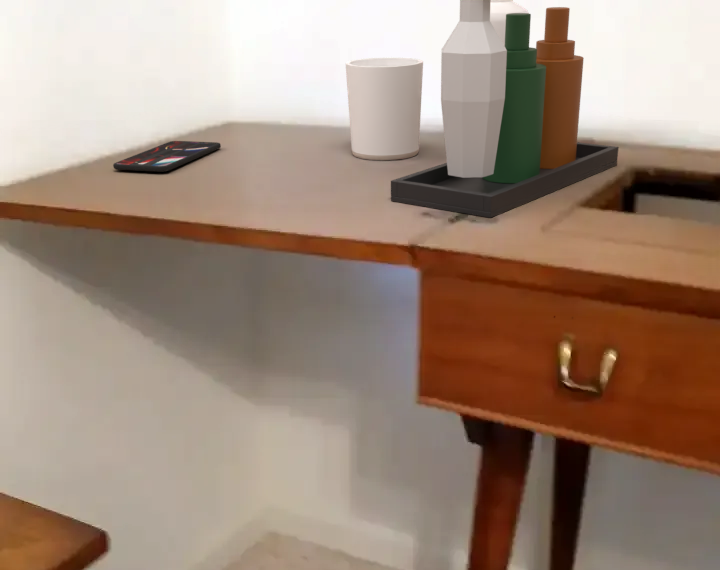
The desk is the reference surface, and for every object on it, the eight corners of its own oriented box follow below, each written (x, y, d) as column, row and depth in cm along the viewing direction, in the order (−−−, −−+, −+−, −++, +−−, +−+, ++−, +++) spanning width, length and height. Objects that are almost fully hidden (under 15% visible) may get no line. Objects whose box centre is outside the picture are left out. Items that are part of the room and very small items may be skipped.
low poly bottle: (510, 167, 97) (522, -82, 87) (492, 181, 92) (502, -82, 82) (450, 163, 100) (454, -80, 89) (429, 177, 94) (431, -80, 84)
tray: (616, 165, 109) (618, 146, 108) (490, 218, 90) (491, 196, 89) (525, 153, 115) (526, 136, 114) (390, 200, 97) (390, 180, 96)
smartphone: (222, 142, 122) (165, 167, 109) (223, 147, 122) (166, 173, 109) (171, 140, 124) (109, 164, 111) (172, 145, 124) (110, 170, 111)
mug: (436, 155, 115) (438, 62, 111) (371, 164, 112) (369, 69, 107) (389, 140, 124) (388, 54, 119) (327, 148, 120) (324, 60, 115)
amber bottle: (584, 161, 108) (597, 6, 101) (558, 171, 104) (570, 11, 97) (537, 155, 112) (546, 5, 104) (510, 165, 108) (517, 9, 100)
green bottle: (549, 175, 103) (560, 12, 95) (520, 186, 99) (529, 17, 91) (500, 168, 106) (507, 10, 99) (470, 179, 102) (475, 15, 95)
